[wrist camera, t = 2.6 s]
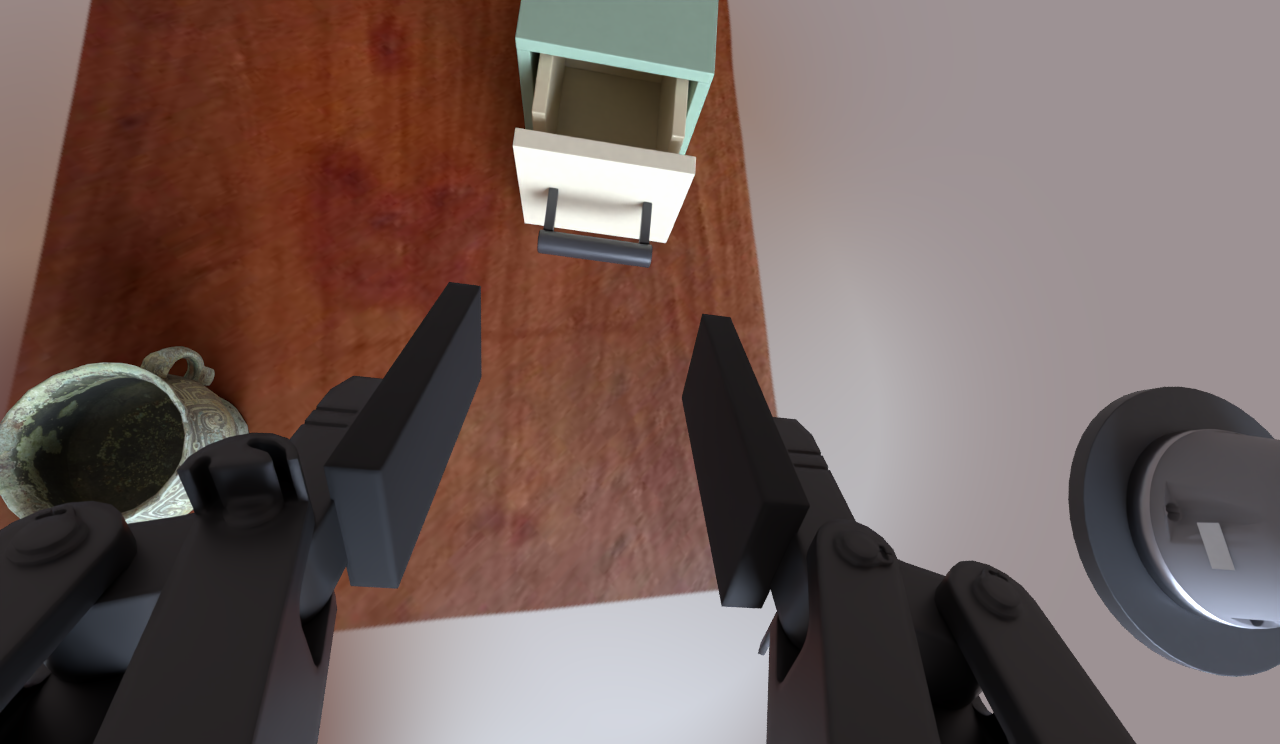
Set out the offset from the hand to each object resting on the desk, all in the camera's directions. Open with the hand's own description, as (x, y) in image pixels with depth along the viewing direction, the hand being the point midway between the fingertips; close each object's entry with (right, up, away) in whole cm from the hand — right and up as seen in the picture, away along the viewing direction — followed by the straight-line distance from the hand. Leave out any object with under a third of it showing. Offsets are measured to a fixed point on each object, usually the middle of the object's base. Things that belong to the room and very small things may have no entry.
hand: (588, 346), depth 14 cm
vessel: (-27, -6, +18) cm, 33 cm away
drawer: (-1, +14, +25) cm, 29 cm away
